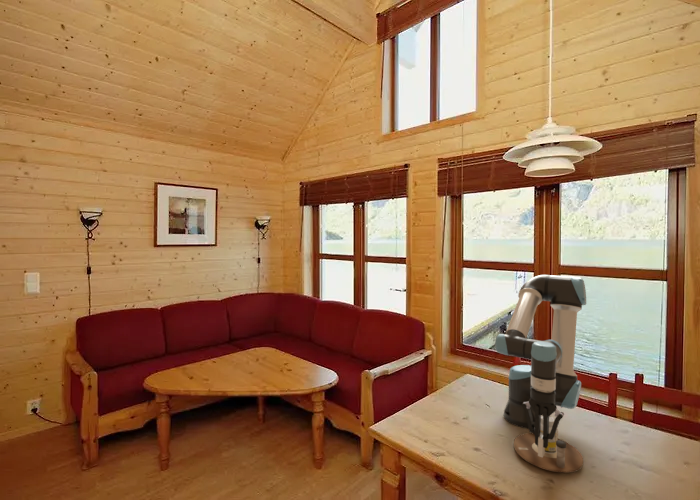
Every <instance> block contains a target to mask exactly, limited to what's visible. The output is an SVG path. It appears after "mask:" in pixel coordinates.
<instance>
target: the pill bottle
mask: <svg viewBox="0 0 700 500" xmlns="http://www.w3.org/2000/svg"><path fill="white" fill-rule="evenodd" d="M554 420H555V417H552V416H551V415H550V416H549V434H550V432H551V429H552V426H553V423H554ZM540 432H541V433H540V434H541V435H543V416H542V415H541V431H540ZM558 432H559V429H558V428H557V430H556V433H555V436H554V438H553V439H552V440H551V439H548V446H547V448H545V453H548V454H554V453H556V452H557V445H556V441H557V440H558V439H559V438H558V437H559V433H558ZM537 447H538V445H537Z"/></svg>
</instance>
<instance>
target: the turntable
mask: <svg viewBox="0 0 700 500" xmlns="http://www.w3.org/2000/svg"><path fill="white" fill-rule="evenodd" d="M556 445H557V452H556V453H554V454H548V453H545V454H544V456H543V458H542V457H539V456H538V447H537V445H536V444H535V435H534V434H533V433H530V432H528V433H527V432H525V433H522V434H519V435H518V436H516V437H515V438H514V440H513V448H514V450H515V452H516V453H517V455H519V456H520V457H521V458H522V459H523V460H524V461H526V462H528V463H529V464H531V465H534V466H535V467H538V468H541V469H543V470H546V471H550V472H554V473H564V474H565V473H567V474H569V473H574V472H578V471H579V470H581V469H582V467H583V465H584V457H583V455H582V453H581V452H580V451H579V450H578V449H577V448H576V447H575V446H574V445H572V444H571V443H569V442H567V441H565V440H564V439H560V438H558V440H557V441H556Z"/></svg>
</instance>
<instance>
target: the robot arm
mask: <svg viewBox="0 0 700 500" xmlns="http://www.w3.org/2000/svg"><path fill="white" fill-rule="evenodd" d="M543 301H544V302H550V307H551V308H552V309H553V315H552V316H553V319H552V331H551V339H545V340H538V339H533V338H528V335H529V331H530V328H531V326H532V322H533V320H534V316H535V314H536V311H537V307H538V305H539V306H540V304H541V303H542V302H543ZM586 305H587V290H586V284H585V281H584V279H583V278H581V277H579V276H578V277H577V276H571V275H569V276H568V275H552V274H551V275H550V274H540V275H536V276H534V277H532V278H530V279H528V280H527V281H525V283H524V284H523V285H522V286H521V287H520V289H519V292H518V301H517V303H516V305H515V308H514V311H513V313H512V317H511V319H510V321H509V323H508V326H507V329H506V331H505V333H498V334H497V336H496V337H495V342H494V343H495V344H494V346H495V348H494V349H495V351H496V352H497V353H499V354H501V355H505V356H511V357H516V358H520V359H521V358H522V359H525V360H529V361H531V363H530V365H529V364H520V365H519V364H518V365H514V366H511V367H510V369H509V372H508V398H507V402H506V404H505V407H504V410H503V418H504V420H506V421H507V422H508V423H510V424H512V425H514V426H517V427H520V428H525V429H528V431H529V432H528V433H533V434H534V435H535V444H536V445H538V456H539V457H542V458H543V456H544V454H545V448H547V446H548V439H551V440H552V439H553V438H554V436H555V433H556V430H557V429H558V427H559V425H560V421H561V420H562V419H563V417H564V415H565V413H564V412H562V411H560V410H559V409H558V407H560V408H565V409H569V410H573V409H575V408H576V407H577V405H578V401H579V398H580V394H581V389H582V382H581V380H580V379H579V380H578V375H577V374H576V372H575V371H574V366H575V365H574V363H575V350H576V349H575V348H576V338H577V337H576V336H577V335H576V334H577V333H576V332H577V322H578V321H577V318H578V313H579V312H580V311H581V310H582V307H583V306H586ZM552 414H554V419H555V420H554V423H553V426H552V429H551V432H550V434H549V416H550V417H551V415H552ZM541 416H543V435H541V434H540V433H541V432H540V431H541Z"/></svg>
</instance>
